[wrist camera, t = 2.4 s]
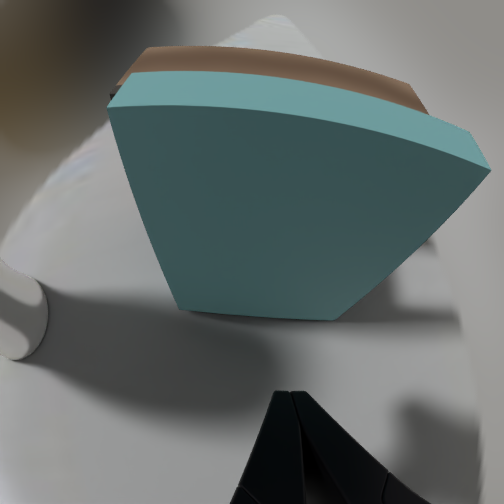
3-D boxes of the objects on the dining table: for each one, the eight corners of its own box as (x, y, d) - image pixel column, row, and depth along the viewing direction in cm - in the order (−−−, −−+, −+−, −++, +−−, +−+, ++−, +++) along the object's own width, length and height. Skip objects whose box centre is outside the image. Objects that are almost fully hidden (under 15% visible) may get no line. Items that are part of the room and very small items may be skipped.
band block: (370, 238, 20) (443, 138, 12) (145, 217, 19) (109, 94, 11) (359, 182, 23) (409, 84, 14) (163, 161, 22) (147, 47, 13)
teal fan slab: (334, 320, 17) (491, 170, 5) (179, 309, 16) (106, 107, 5) (326, 218, 20) (406, 49, 9) (196, 205, 20) (186, 12, 8)
